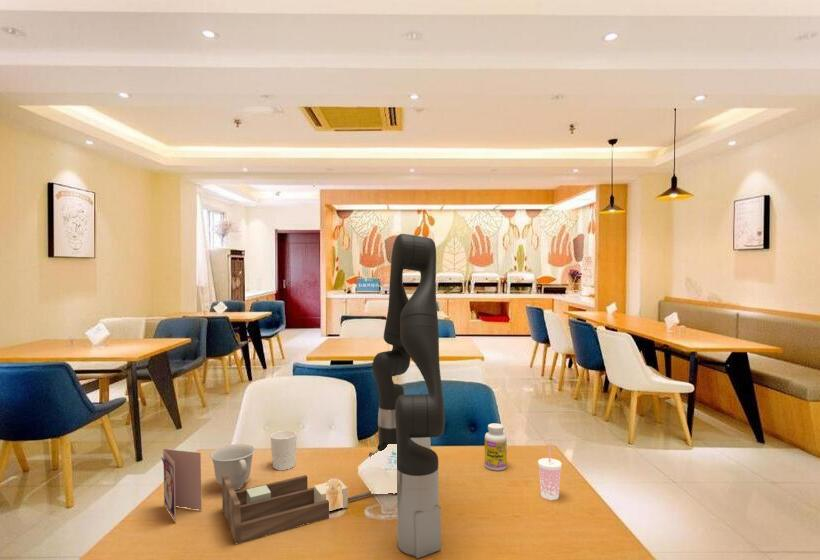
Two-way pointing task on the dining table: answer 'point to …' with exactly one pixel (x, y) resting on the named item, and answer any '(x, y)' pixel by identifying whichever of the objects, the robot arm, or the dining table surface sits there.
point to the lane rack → (271, 508)
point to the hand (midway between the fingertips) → (392, 484)
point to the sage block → (257, 494)
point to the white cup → (283, 449)
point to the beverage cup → (549, 477)
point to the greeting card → (181, 480)
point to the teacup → (233, 463)
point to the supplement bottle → (495, 447)
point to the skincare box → (423, 442)
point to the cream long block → (321, 493)
